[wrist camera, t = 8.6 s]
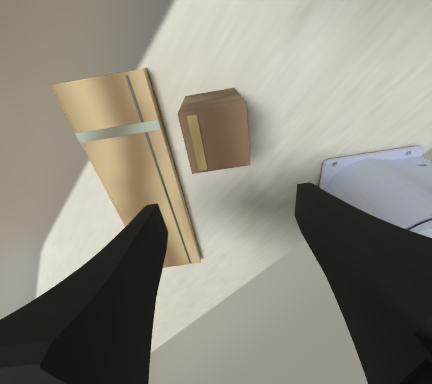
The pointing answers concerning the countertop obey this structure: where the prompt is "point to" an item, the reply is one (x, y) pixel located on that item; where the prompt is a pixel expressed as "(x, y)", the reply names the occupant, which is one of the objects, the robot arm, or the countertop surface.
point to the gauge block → (215, 130)
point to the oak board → (130, 152)
